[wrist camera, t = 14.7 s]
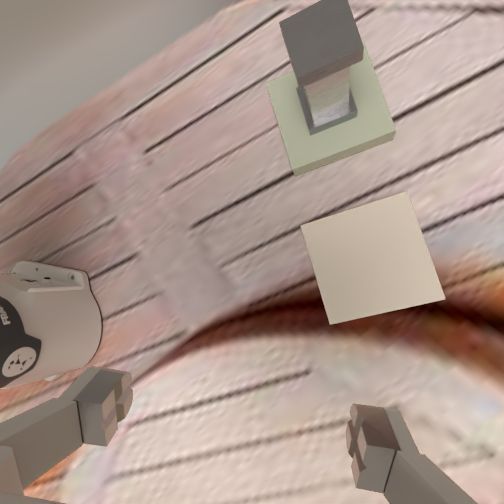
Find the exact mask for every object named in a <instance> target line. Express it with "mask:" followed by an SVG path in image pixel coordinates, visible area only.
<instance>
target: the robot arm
mask: <svg viewBox="0 0 504 504" xmlns="http://www.w3.org/2000/svg"><path fill="white" fill-rule="evenodd" d="M101 328H102V326H101V316H100V311H99V308H98V305H97V303H96V301H95V299H94V297H93V295H92V293H91V291H90V286H89V280H88V276H87V274H86V273H85V272H84V271H80V270H75V269H69V268H64V267H59V266H53V265H48V264H43V263H38V262H32V261H19V262H18V263H17V264H16V265H15V266H14V267H13V269H12V270H11V272H10V273H9V274H0V389H8V388H12V387H16V386H20V385H23V384H27V383H31V382H34V381H38V380H41V379H45V380H46V381H52V380H56V379H58V378H59V377H60V376H61V375H63V374H64V373H65V372H68V371H73V370H77V369H79V368H81V367H83V366H84V365H86V364H87V363H88V362H89V361H90V360H91V358H92V357H93V356H94V354H95V352H96V350H97V348H98V345H99V342H100V338H101ZM131 381H132V377H131V373H129V372H126V371H120V370H114V369H108V368H100V367H94V366H91V367H89V368H87V369H86V370H85V371H84V372H83V373H82V374H81V375H80V376H79V377H78V378H77V379H76V380H75V381H74V382H73V383H72V384H71V385H70V386H69V388H68V389H67V390H66V391H65V392H64V393H63V394H62V395H61V396H60V397H59V398H53V399H51V400H49V401H46V402H44V403H42V404H40V405H38V406H36V407H34V408H32V409H30V410H28V411H25V412H23V413H21V414H19V415H17V416H15V417H13V418H11V419H9V420H6V421H4V422H2V423H0V504H65V503H60V502H54V501H49V500H44V499H38V498H33V497H28V496H25V495H24V491H23V489H24V488H26V487H27V486H28V485H30V484H31V483H32V482H34V481H35V480H36V479H38V478H39V477H40V476H42V475H43V474H44V473H46V472H47V471H48V470H50V469H51V468H52V467H54V466H55V465H57V464H58V463H59V462H61V461H62V460H63V459H65V458H66V457H67V456H69V455H70V454H71V453H73V452H74V451H75V450H77V449H78V448H79V447H81V446H82V445H83V443H84V444H92V445H99V446H107V445H108V444H109V442H110V441H111V439H112V437H113V436H114V434H115V433H116V431H117V430H118V426H117V423H118V422H119V421H121V420H123V419H124V418H125V417H126V415H127V414H128V412H129V410H130V407H131V404H132V399H133V390H132V389H131V388H130V386H129V384H130V383H131ZM350 414H351V418H352V419H351V420H350V421H349V422H348V423H347V429H346V442H347V449H348V453H349V454H350V456H351V457H352V458H353V461H352V466H351V468H352V472H353V477H354V481H355V486H356V488H359V489H364V490H369V491H374V492H379V493H384V496H385V498H386V499H387V500H388V502H389V503H390V504H478V503H476V502H475V501H474V500H473V499H472V498H471V497H470V496H469V495H468V494H467V493H466V492H465V491H463V490H462V489H461V488H460V487H459V486H458V485H457V484H456V483H455V482H454V481H453V480H451V479H450V478H449V477H448V476H447V475H446V474H445V473H444V472H443V471H442V470H441V469H440V468H438V467H437V466H436V465H435V464H434V463H433V462H432V461H431V460H430V459H429V458H428V457H426V456H425V455H423V454H420V453H419V451H418V449H417V447H416V445H415V442H414V440H413V438H412V436H411V434H410V432H409V430H408V427H407V425H406V423H405V421H404V419H403V417H402V415H401V412H400V411H399V410H398V409H392V408H384V407H383V408H381V407H375V406H368V405H360V404H352V406H351V410H350Z"/></svg>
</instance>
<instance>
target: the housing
mask: <svg viewBox="0 0 504 504" xmlns="http://www.w3.org/2000/svg"><path fill="white" fill-rule="evenodd" d="M279 24H280V28H281V32H282V35H283V39H284V42H285V45H286V48H287V52H288V55H289V58H290V61H291V64H292V68H293V71H294V74H295V77H296V80H297V84H298V87H297V88H296V90H297V94H298V98H299V101H300V104H301V107H302V111H303V114H304V117H305V120H306V123H307V127H308V130H309V133H310V136H311V135H313V134H316V133H318V132H321V131H323V130H326V129H328V128H331V127H333V126H336V125H338V124H341V123H343V122H346V121H348V120H351V119H353V118H356V117H357V111H358V110H357V107H356V104H355V101H354V98H353V95H352V92H351V89H350V66H351V65H354V64H356V63H358V62H360V61H362V60H363V52H364V46H363V43H362V40H361V37H360V35H359V32H358V29H357V26H356V23H355V20H354V18H353V15H352V12H351V9H350V6H349V3H348V1H347V0H321V1H319V2H317V3H315V4H313V5H311V6H309V7H308V8H306V9H304V10H302V11H300V12H298V13H296V14H294V15H292V16H291V17H289V18H287V19H285V20H283V21H281V22H279Z"/></svg>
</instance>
